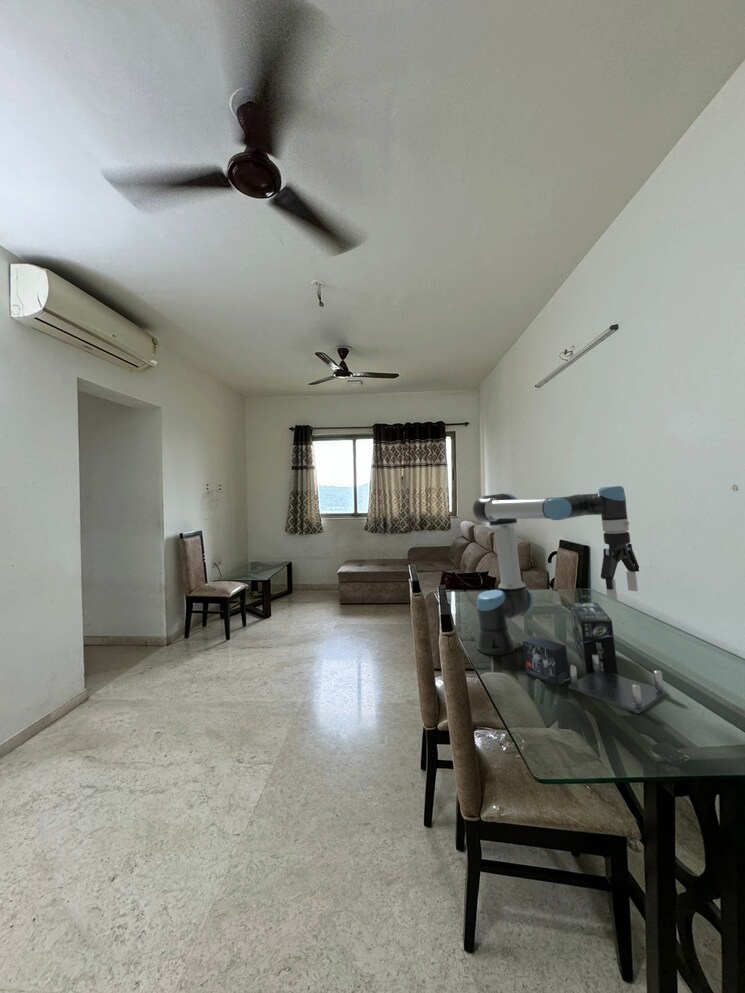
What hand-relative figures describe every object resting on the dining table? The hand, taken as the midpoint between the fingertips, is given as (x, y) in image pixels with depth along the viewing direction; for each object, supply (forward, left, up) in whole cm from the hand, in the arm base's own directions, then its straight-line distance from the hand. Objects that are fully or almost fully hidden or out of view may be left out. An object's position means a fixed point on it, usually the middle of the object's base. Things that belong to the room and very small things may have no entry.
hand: (623, 594), depth 134 cm
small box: (-18, -20, -27) cm, 38 cm away
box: (-14, +3, -28) cm, 31 cm away
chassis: (+2, -14, -27) cm, 31 cm away
